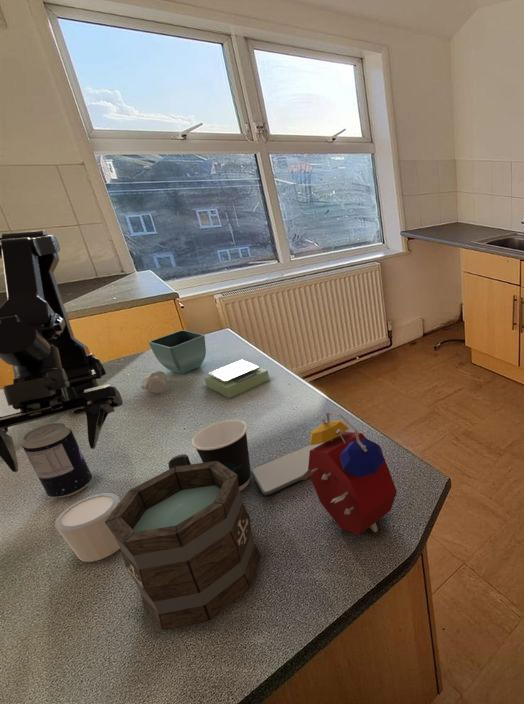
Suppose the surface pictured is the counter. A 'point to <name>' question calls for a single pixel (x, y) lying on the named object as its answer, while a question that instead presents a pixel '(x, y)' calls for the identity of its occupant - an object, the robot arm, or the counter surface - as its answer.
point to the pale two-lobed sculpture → (155, 382)
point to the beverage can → (57, 459)
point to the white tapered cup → (89, 527)
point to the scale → (237, 383)
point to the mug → (186, 541)
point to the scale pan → (233, 371)
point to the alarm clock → (350, 476)
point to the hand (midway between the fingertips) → (55, 459)
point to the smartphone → (282, 470)
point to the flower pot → (180, 350)
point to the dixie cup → (226, 447)
